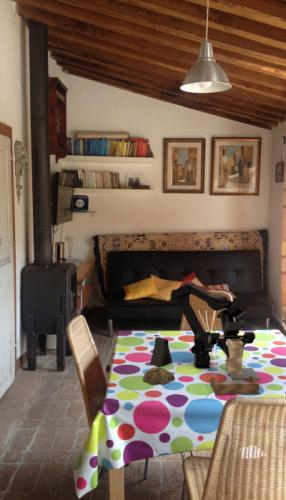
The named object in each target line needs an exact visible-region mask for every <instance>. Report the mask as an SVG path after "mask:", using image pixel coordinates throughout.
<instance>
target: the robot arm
mask: <svg viewBox="0 0 286 500" xmlns="http://www.w3.org/2000/svg"><path fill="white" fill-rule="evenodd" d="M170 292H171V293H170V295H169V296H170V299H171V300H172V302H173V303H174V304H175V305H176V306H177V307H179V308H180V310H181V312H182V314H183V315H184V318H185V320H186V322H187V324H188V325H189V327H190V329H191V331H192V334H193V342H194V345H193V346H192V347H191V348H190V352H191V354H193V355H194V356H193V360H194V361H193V365H194V367H195V368H196V369H203V368H204V369H205V368H207V369H209V368H211V366H210V365H211V355H210V353H212V352H213V349H214V347H215V345H216V347H218V348H220V349H221V351H222V352H223V353H224V354H225V356H226V357H228V358H229V357H230V356H229V351H228V348H227V339H240V340H241V341H242V342H243V352H244V351H245V349H244V348H245V346H246V345H250V344H253V343H254V342H255V339H256V337H257V336H256V333H255V332H254V331H244V333H243V334H240V331H241V330H243V329H245V327H246V324H245V320H242V319H241V320H238V321H236V320H235V319H238V318H239V317H241V316H242V315H243V314H244V313H246V312H247V311H248V305H247V303H245V301H244V300H241V299H240V297H235V298H234V299H233V300H230V299H228V297H226V296H225V295H222V294H218V293H217V294H215V293H213V292H210V291H208V290H206V289H204V288H202V286H201V287H200V286H199V285H197V284H196V283H194V282H190V283H185V284H184V285H183V286H181V287H179V288H178V287H177V288H174V289H172V290H171V291H170ZM191 295H193V296H194V297H196V298H197V299H200V300H202V301H203V302H205V303H206V304H207V305H208V307H209V308H210V309H211V310H213V311H214V312H215V311H216V312H217V311H218V313H217V316H216V318H217V319H220V324H221V330H222V333H223V334H221V333H220V332H210V331H206V330H205V329H204V328H203V326H202V324H201V322H200V320H199V319H198V317H197V315H196V313H195V311H194V308H193V306H192V305H191ZM243 357H244V354H243V355H242V358H243Z"/></svg>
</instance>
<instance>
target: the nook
mask: <svg viewBox="0 0 286 500" xmlns="http://www.w3.org/2000/svg"><path fill="white" fill-rule="evenodd" d="M209 386H210V387H211V389H212V391H213V393H214V395H219V396H220V395H256V394H260V382H258V381H257V379H254V378H253V377H252V376H249V379H248V382H220V383H218V382H217V380H216V379H215V377H214V376H210V385H209Z"/></svg>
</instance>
